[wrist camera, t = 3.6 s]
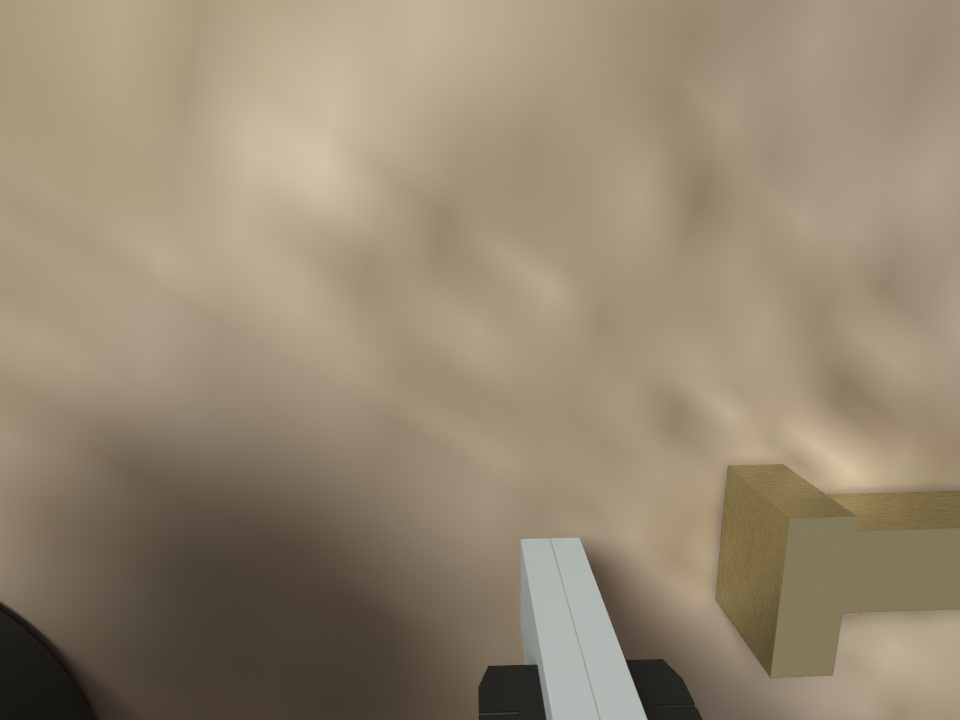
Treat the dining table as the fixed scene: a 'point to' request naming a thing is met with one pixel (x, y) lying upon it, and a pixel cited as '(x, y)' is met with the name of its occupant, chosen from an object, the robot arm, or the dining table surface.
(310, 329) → the dining table surface
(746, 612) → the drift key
